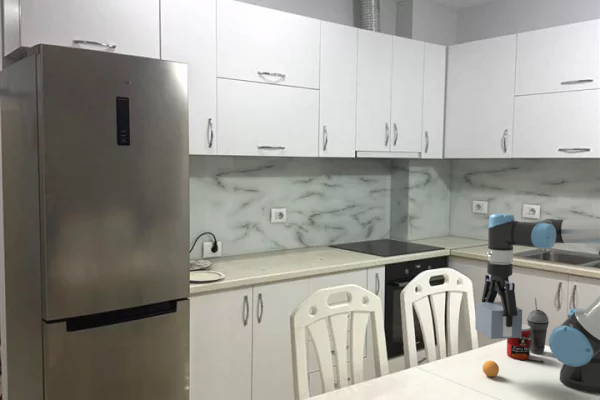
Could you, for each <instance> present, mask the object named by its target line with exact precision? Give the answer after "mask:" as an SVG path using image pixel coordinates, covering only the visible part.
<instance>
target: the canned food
mask: <svg viewBox="0 0 600 400" xmlns="http://www.w3.org/2000/svg"><path fill="white" fill-rule="evenodd" d="M530 335H531V327H530V326H528V324H526V323H522V335H521V337H520V338H506V355H507V356H508V358H510V359H513V360H520V361H525V359H526V360H528V359H529V358H530V356H531V355H530V354H531V352H530Z"/></svg>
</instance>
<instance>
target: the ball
mask: <svg viewBox="0 0 600 400" xmlns="http://www.w3.org/2000/svg"><path fill="white" fill-rule="evenodd" d="M499 371H500V368H499V365H498V363H496V362H495V361H494V360H486V361H484V363H483V364H482V372H483V373H484V375H485V376H487V377H489V378H492V377H496V376H497V375H498V374H499Z"/></svg>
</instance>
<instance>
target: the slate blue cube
mask: <svg viewBox="0 0 600 400" xmlns="http://www.w3.org/2000/svg"><path fill="white" fill-rule="evenodd" d="M516 307H517V316H513V319H512V336H511V337H503V336H502V333H503V315H504V310H503V305H502V301H494V302H482V301H481V302H475V323H474V324H475V325H474V328H475V330H476V331H477V332H479V333H481V334H482V335H484V336H485V337H487V338H489V339H490V340H496V339H497V340H498V339H507V338H520V337H521V335H522V324H523V309H522V308H519V307H518V306H516ZM513 312H514V311H513Z"/></svg>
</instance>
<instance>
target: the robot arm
mask: <svg viewBox="0 0 600 400" xmlns="http://www.w3.org/2000/svg"><path fill="white" fill-rule="evenodd" d="M487 229H488V233H487V237H488V239H487V241H488V242H487V243H488V245H487V252H486V254H487V260H488V262H487V263H486V264H487V266H486V268H487V269H486V273H487V274H485V278H484V281H485V282H484V286H483V292H482V296H481V302H496V297H497V296H500V297H499V298H500V302H502V305H503V310H504V315H503V333H502V336H503V337H511V336H512V319H513V316H517V307H518V306H517V301H516V292H515V290H516V289H515V287H516V286H515V283H514V282H510V280H509V277H511V276H512V275H513V268H514V267H513V266H514V265H513V262H514V246H521V247H527V248H528V247H529V248H536V249H551V248H553V247H554V245H555V244H587V245H588V244H589V245H590V244H592V245H593V244H594V245H595V244H596V245H597V244H599V245H600V218H578V219H577V218H576V219H573V218H572V219H571V218H570V219H567V218H565V219H555V218H546V219H543V220H538V221H517V220H516V219H515V215H513V214H511V213H492V214H490V215H489V219H488V227H487ZM513 311H514V312H513ZM548 345H549V349H550V352H551V353H552V355H553V356H554V357H555V359H556V360H558V361H559V362H560V363H562V367H561V369H560V372H559V381H560V383H562V384H563V385H564V386H566V387H569V388H570V389H573V390H577V391H580V392H584V393H590V394H600V295H599V296H598V297H597V298H596V299H595V300H594V301H593V302H592V303H591V304H590V305H589V306H588V307H587V308H586V309H585V308H570V309H569V310H568V314H567V319H566V320H565V321H563V323H562V324H560V325H559V326H558V327H555V328H554V329H553V330H552V331H551V333H550V335H549V338H548Z"/></svg>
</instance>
